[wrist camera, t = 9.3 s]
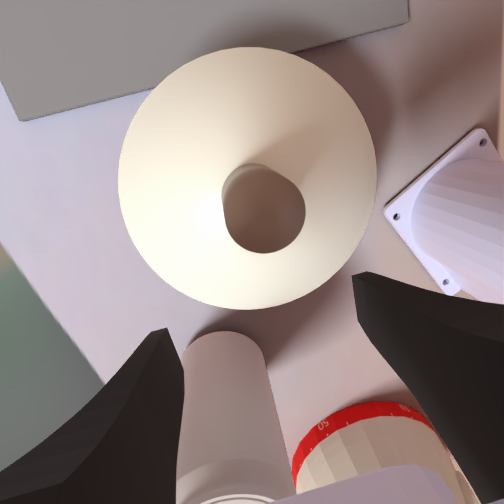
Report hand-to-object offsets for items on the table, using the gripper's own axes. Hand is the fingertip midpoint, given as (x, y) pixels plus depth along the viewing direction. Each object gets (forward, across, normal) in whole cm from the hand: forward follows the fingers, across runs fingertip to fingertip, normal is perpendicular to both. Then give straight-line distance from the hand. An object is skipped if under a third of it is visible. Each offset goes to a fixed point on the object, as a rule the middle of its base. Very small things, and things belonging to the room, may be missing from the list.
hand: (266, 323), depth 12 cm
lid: (+7, -1, -4) cm, 8 cm away
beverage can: (+11, +4, +9) cm, 15 cm away
